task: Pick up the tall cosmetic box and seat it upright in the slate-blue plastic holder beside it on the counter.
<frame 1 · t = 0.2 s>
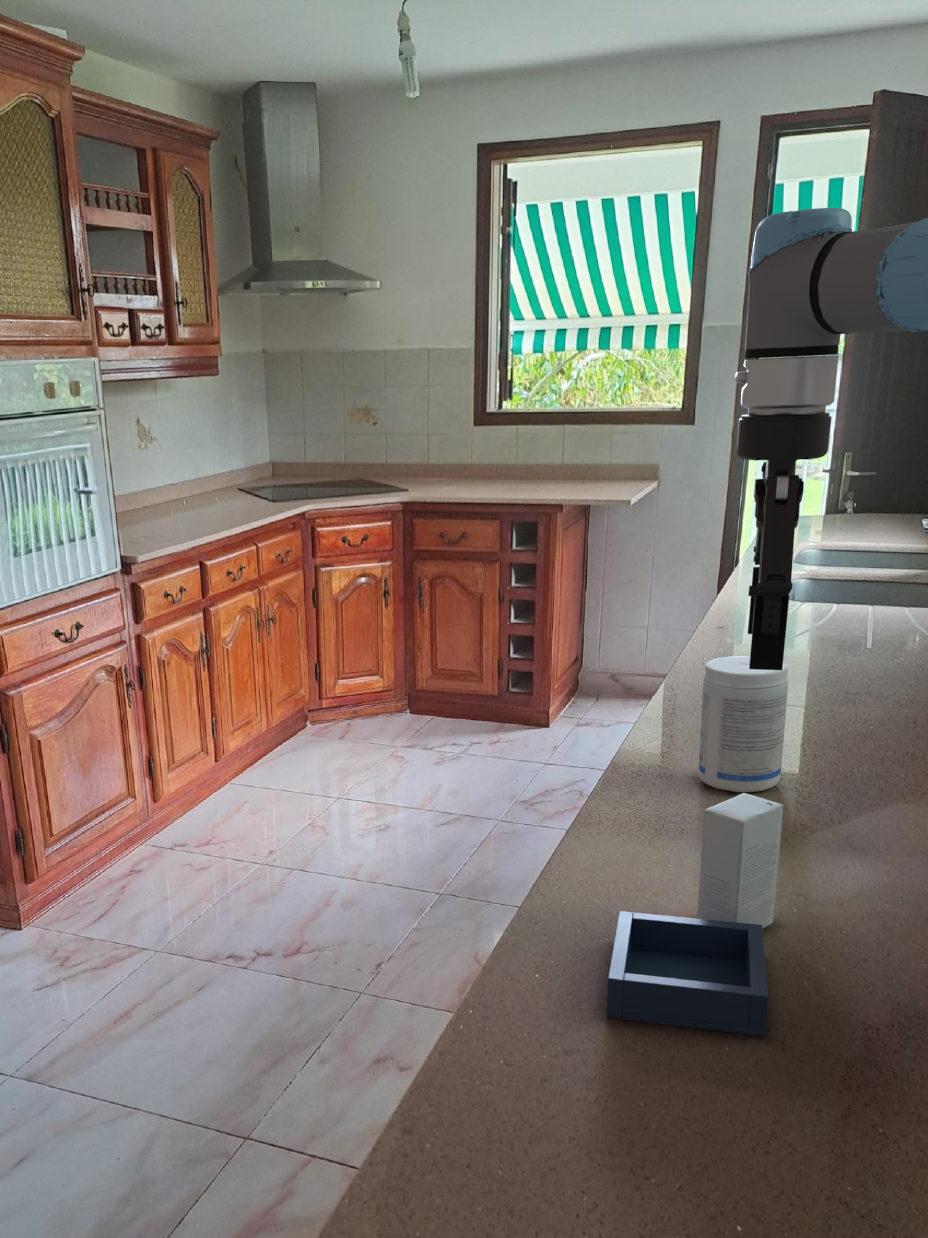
hand: (763, 650, 104), 23 cm above the counter, tool pointing down, fingers open, 13 cm apart
cosmetic box: (733, 928, 102), on the counter
supplement tub: (737, 782, 137), on the counter
holder: (685, 988, 93), on the counter
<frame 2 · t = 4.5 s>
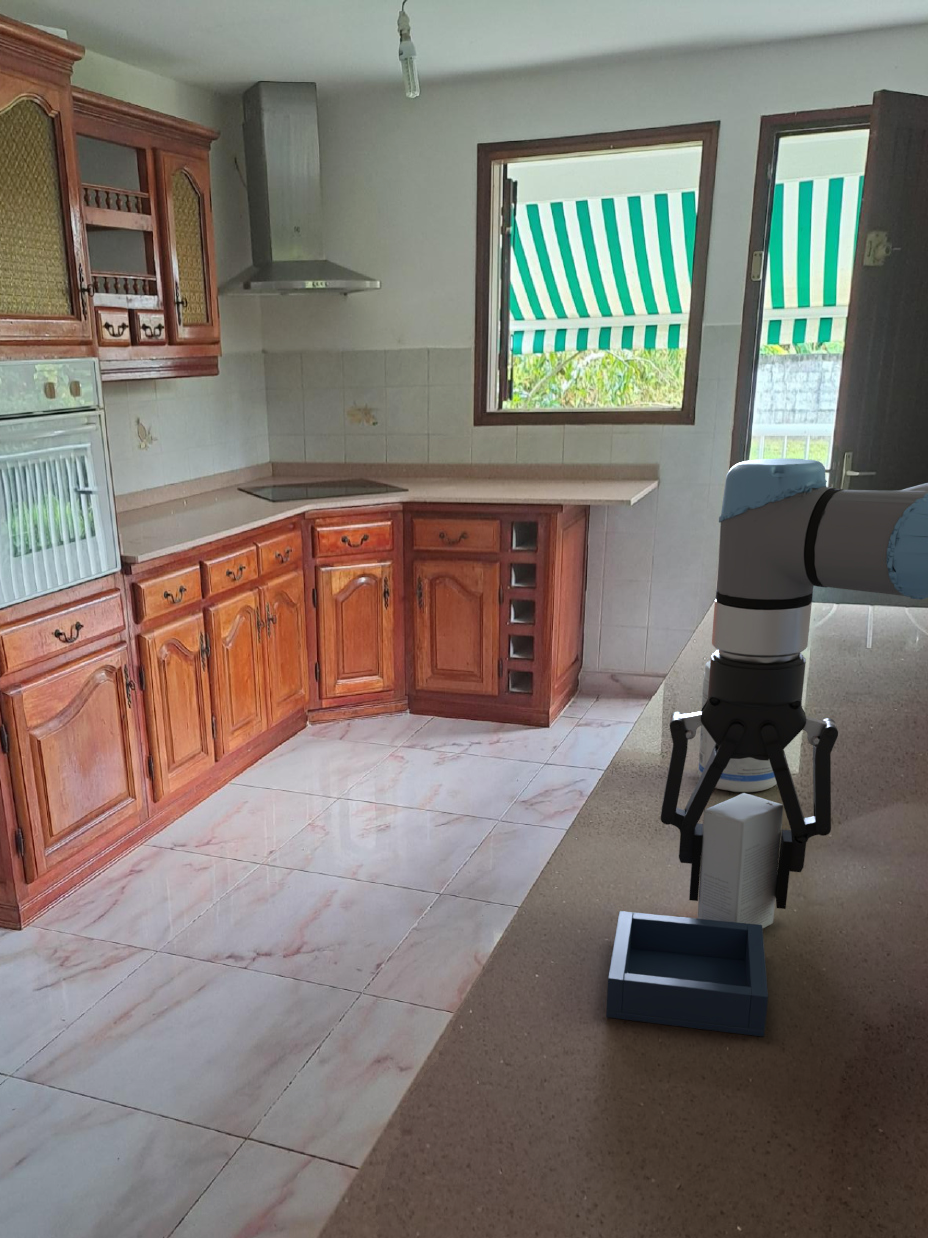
hand: (736, 897, 101), 3 cm above the counter, tool pointing down, fingers closed on cosmetic box, 7 cm apart
cosmetic box: (733, 928, 102), on the counter, touching gripper
everything else where it was.
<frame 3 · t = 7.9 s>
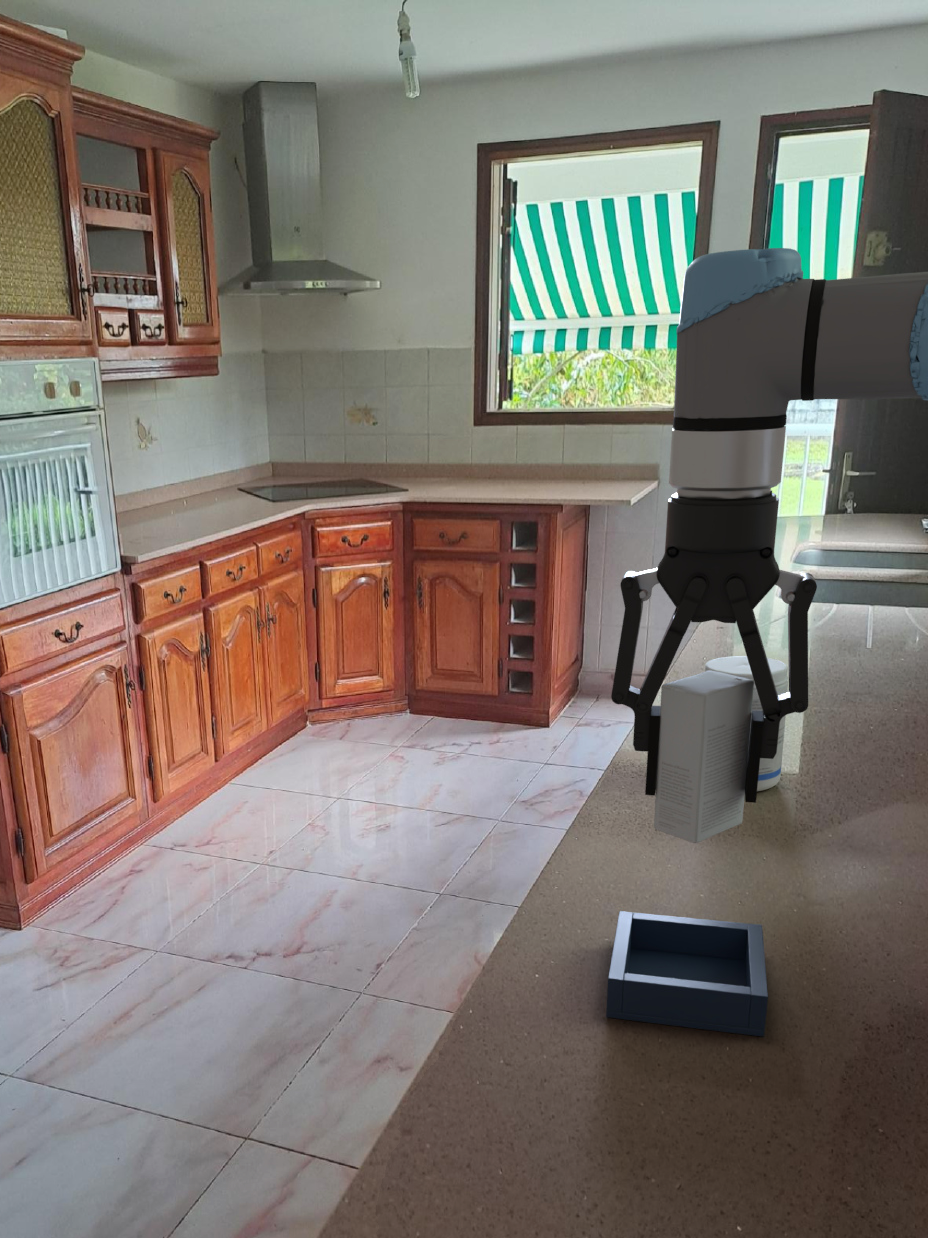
hand: (700, 792, 87), 17 cm above the counter, tool pointing down, fingers closed on cosmetic box, 7 cm apart
cosmetic box: (696, 829, 88), point 14 cm above the counter, touching gripper
everything else where it was.
when the fingers open (4 cm above the counter, at t = 12.0 s): cosmetic box stays where it is, resting on holder.
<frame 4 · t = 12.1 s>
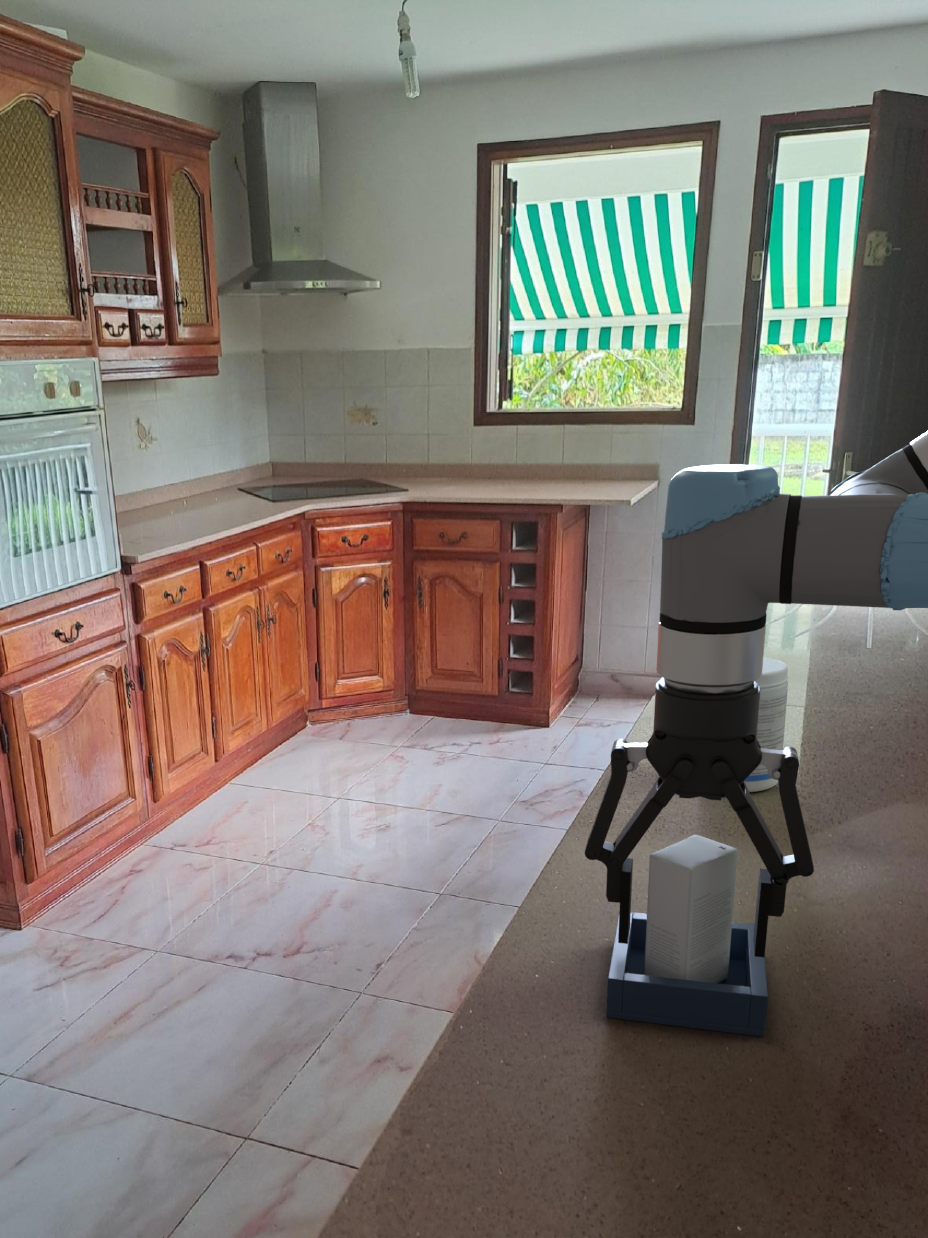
hand: (690, 942, 91), 4 cm above the counter, tool pointing down, fingers open, 10 cm apart
cosmetic box: (684, 983, 93), resting on holder
everything else where it was.
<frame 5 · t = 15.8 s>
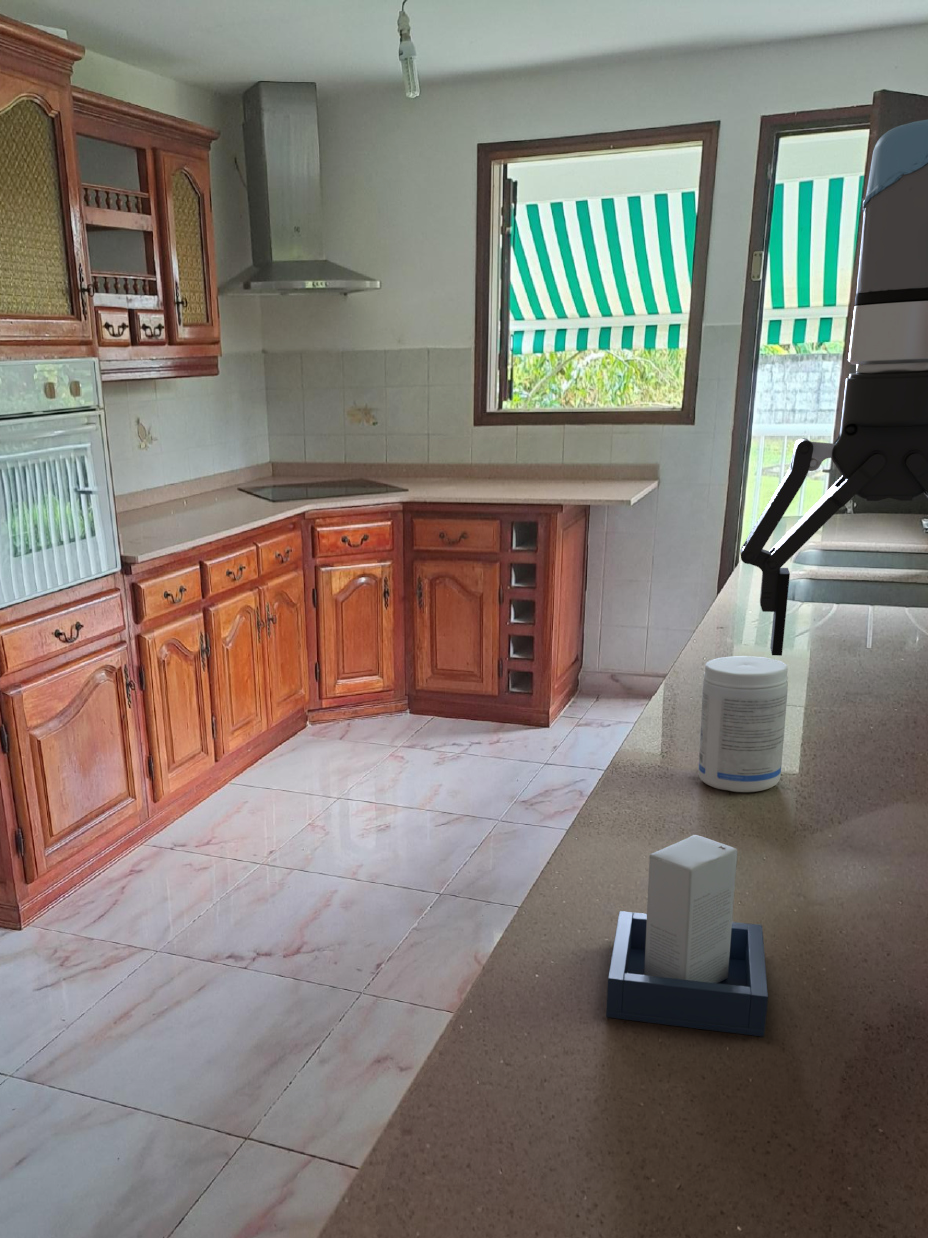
hand: (867, 654, 88), 27 cm above the counter, tool pointing down, fingers open, 13 cm apart
nothing on the counter moved.
at the end: cosmetic box 0.1 cm off-centre in the holder, point 0.4 cm above the holder's base; cosmetic box tilted 0°; the gripper is holding nothing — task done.
